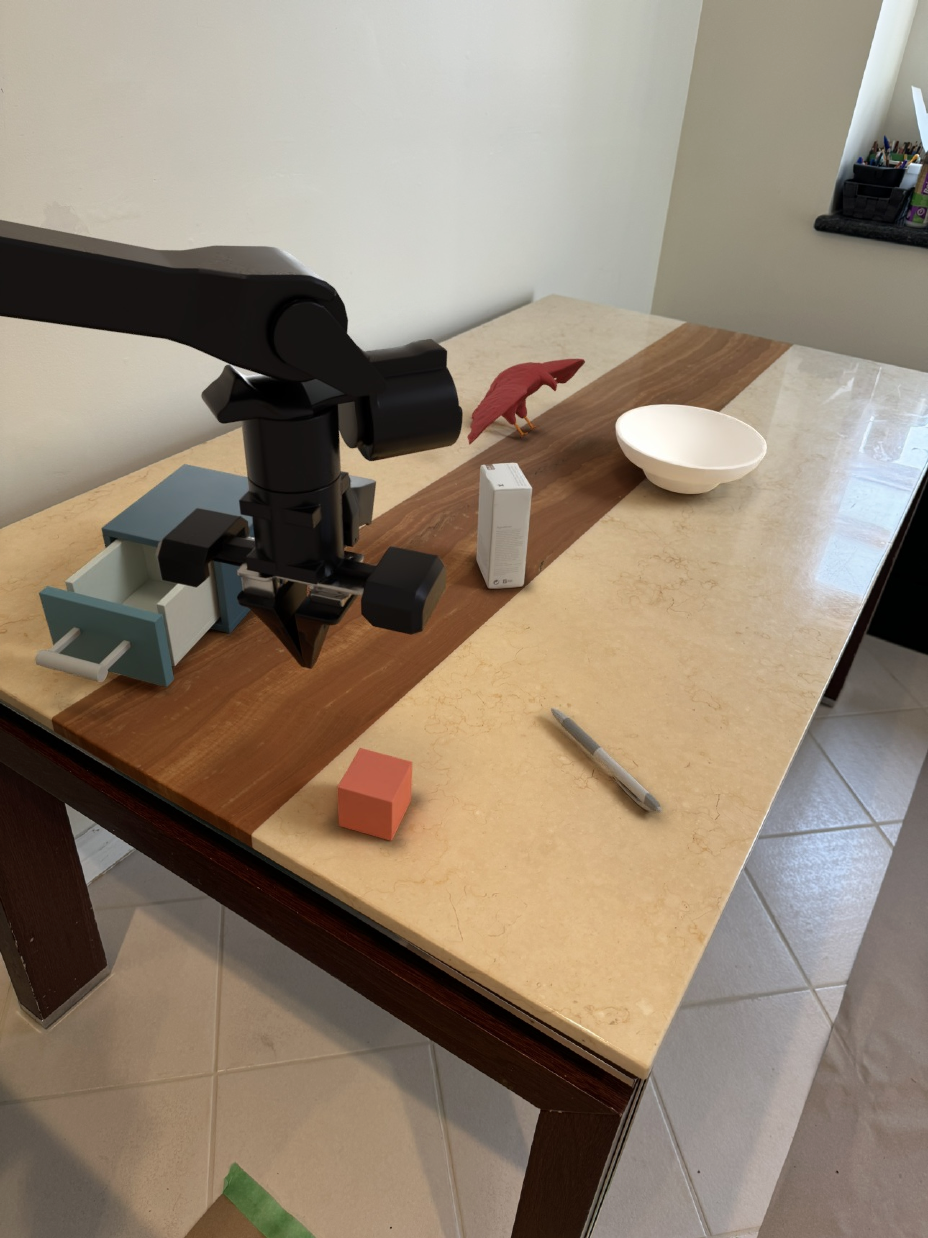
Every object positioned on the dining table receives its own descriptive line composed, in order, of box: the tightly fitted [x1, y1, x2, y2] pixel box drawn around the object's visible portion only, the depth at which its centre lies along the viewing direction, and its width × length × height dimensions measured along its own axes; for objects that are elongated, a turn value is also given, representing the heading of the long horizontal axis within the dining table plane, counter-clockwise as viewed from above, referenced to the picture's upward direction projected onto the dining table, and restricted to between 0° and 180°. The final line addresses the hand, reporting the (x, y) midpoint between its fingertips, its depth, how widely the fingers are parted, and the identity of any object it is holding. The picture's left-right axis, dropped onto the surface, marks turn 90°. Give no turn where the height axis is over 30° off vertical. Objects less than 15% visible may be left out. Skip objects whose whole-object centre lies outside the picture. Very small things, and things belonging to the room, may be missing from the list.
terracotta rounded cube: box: [336, 747, 413, 842], centre depth 67 cm, size 4×4×4 cm
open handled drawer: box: [34, 539, 221, 688], centre depth 80 cm, size 18×11×7 cm, turn 163°
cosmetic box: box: [476, 462, 533, 590], centre depth 93 cm, size 6×4×12 cm
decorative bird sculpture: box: [466, 358, 586, 446], centre depth 125 cm, size 28×9×15 cm
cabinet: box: [101, 463, 254, 634], centre depth 90 cm, size 15×13×9 cm
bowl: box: [615, 403, 768, 495], centre depth 116 cm, size 20×20×7 cm
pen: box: [550, 707, 663, 814], centre depth 74 cm, size 1×14×1 cm, turn 34°
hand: (309, 664), depth 63 cm, fingers closed
